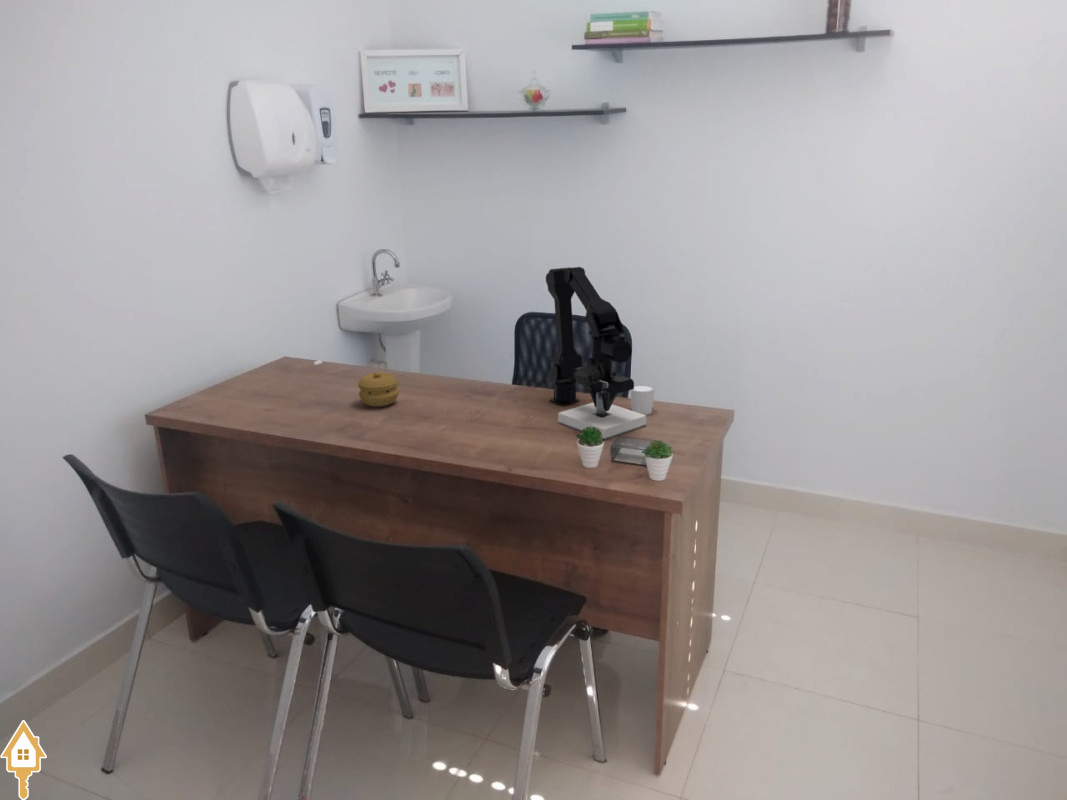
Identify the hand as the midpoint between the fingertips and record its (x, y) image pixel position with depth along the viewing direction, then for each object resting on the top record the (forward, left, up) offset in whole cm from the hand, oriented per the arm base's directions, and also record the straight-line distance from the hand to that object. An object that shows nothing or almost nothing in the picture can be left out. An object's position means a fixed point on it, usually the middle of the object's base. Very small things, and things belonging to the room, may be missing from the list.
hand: (601, 409), depth 225 cm
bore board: (0, 0, -4) cm, 4 cm away
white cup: (0, +16, -5) cm, 17 cm away
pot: (-58, -36, -5) cm, 68 cm away
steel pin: (0, 0, -4) cm, 4 cm away
